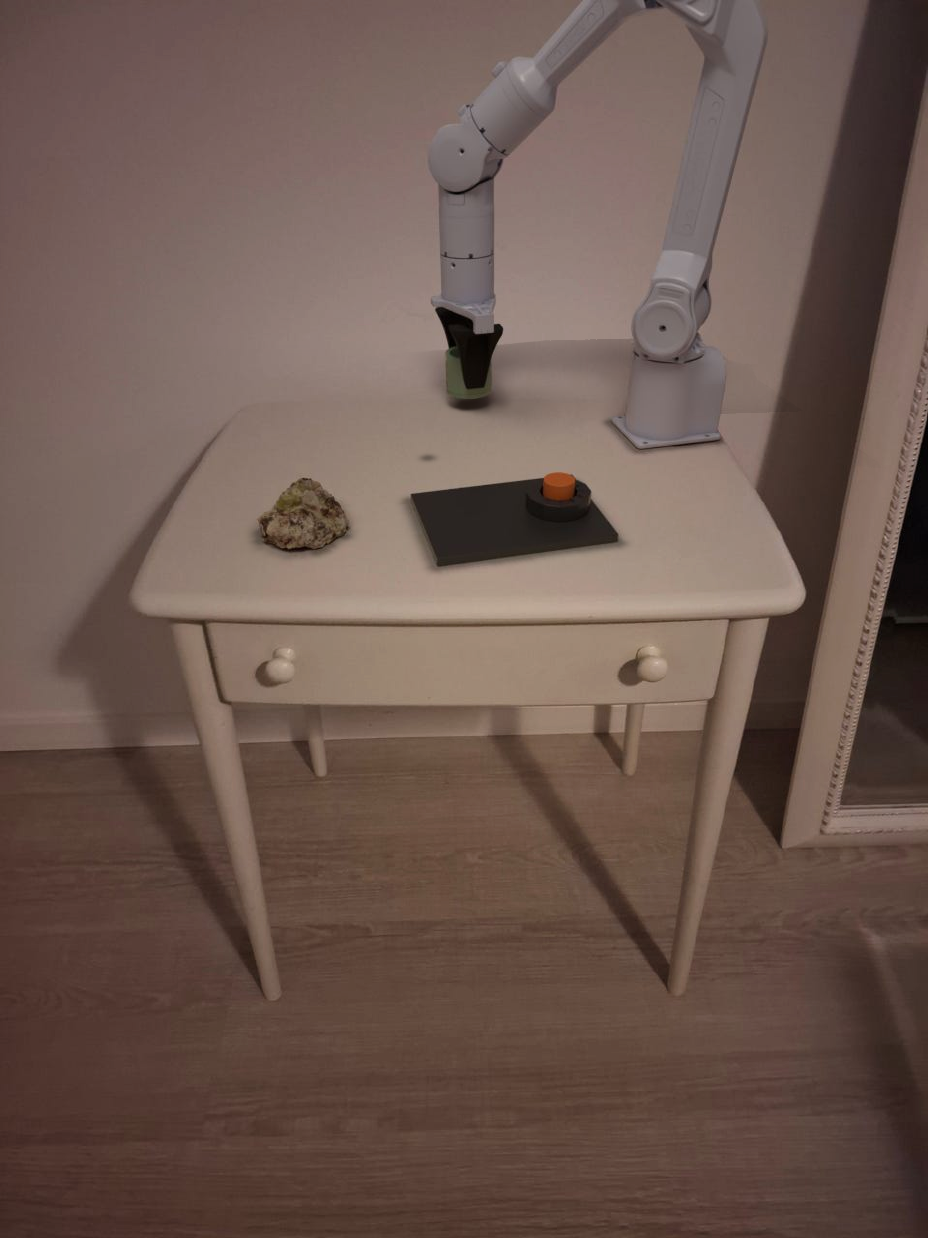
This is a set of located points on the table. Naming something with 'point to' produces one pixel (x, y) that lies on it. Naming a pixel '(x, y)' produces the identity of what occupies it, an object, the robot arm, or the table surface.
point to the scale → (507, 521)
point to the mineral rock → (303, 517)
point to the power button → (558, 486)
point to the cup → (456, 378)
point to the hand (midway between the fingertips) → (468, 378)
